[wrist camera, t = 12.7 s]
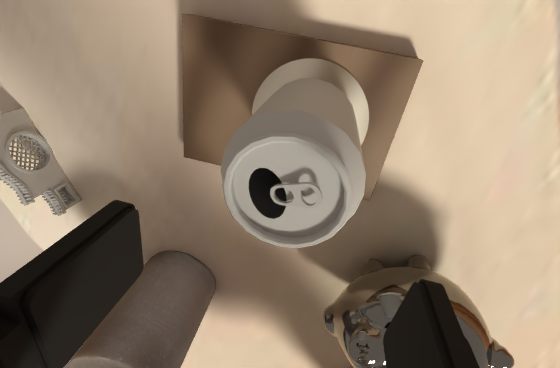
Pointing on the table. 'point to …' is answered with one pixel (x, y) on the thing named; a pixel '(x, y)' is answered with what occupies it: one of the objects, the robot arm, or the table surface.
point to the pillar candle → (152, 317)
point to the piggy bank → (384, 304)
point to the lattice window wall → (45, 174)
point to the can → (296, 166)
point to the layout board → (277, 72)
